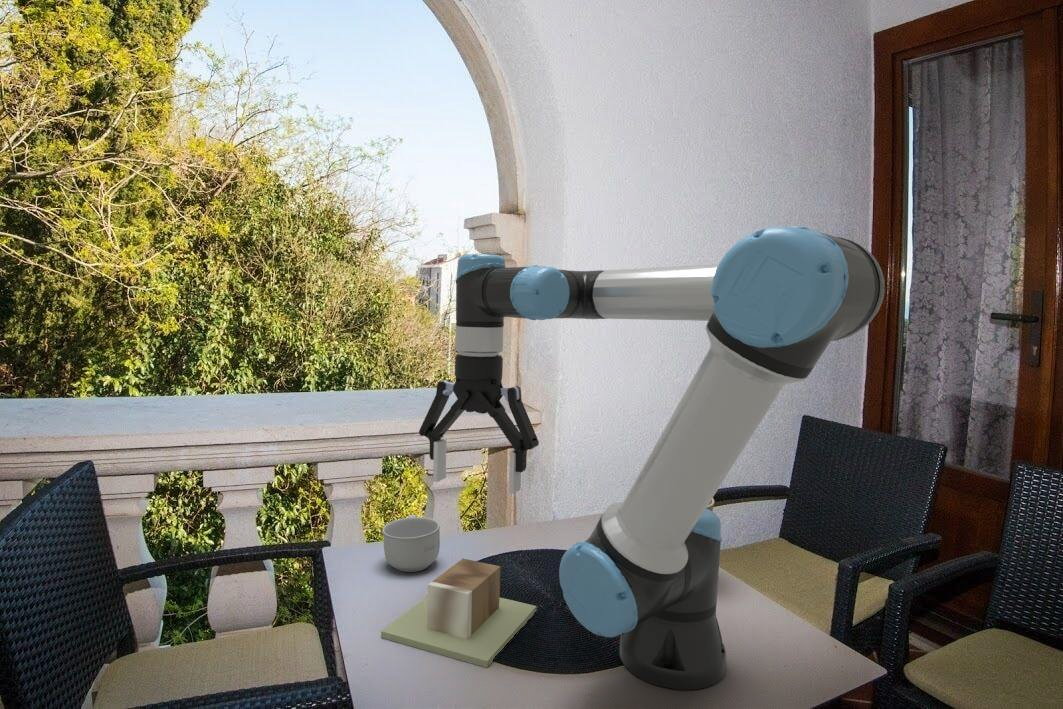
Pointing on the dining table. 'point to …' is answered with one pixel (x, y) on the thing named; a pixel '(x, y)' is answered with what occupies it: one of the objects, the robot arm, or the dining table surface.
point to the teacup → (411, 543)
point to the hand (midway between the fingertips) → (476, 485)
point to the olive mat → (470, 650)
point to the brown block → (463, 598)
